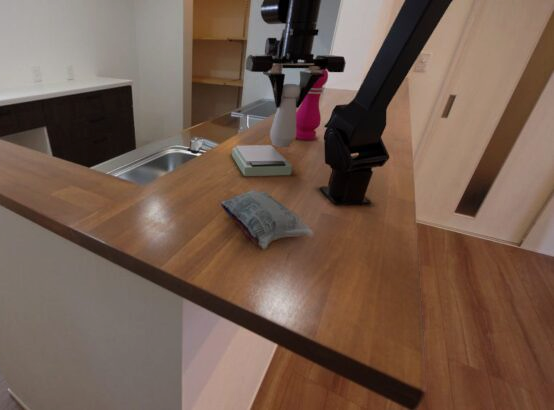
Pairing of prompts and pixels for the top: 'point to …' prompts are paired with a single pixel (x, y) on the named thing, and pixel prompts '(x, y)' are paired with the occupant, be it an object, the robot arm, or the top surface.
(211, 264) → the top surface
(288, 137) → the salt shaker
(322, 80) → the pepper mill
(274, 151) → the scale
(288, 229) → the packaged food
